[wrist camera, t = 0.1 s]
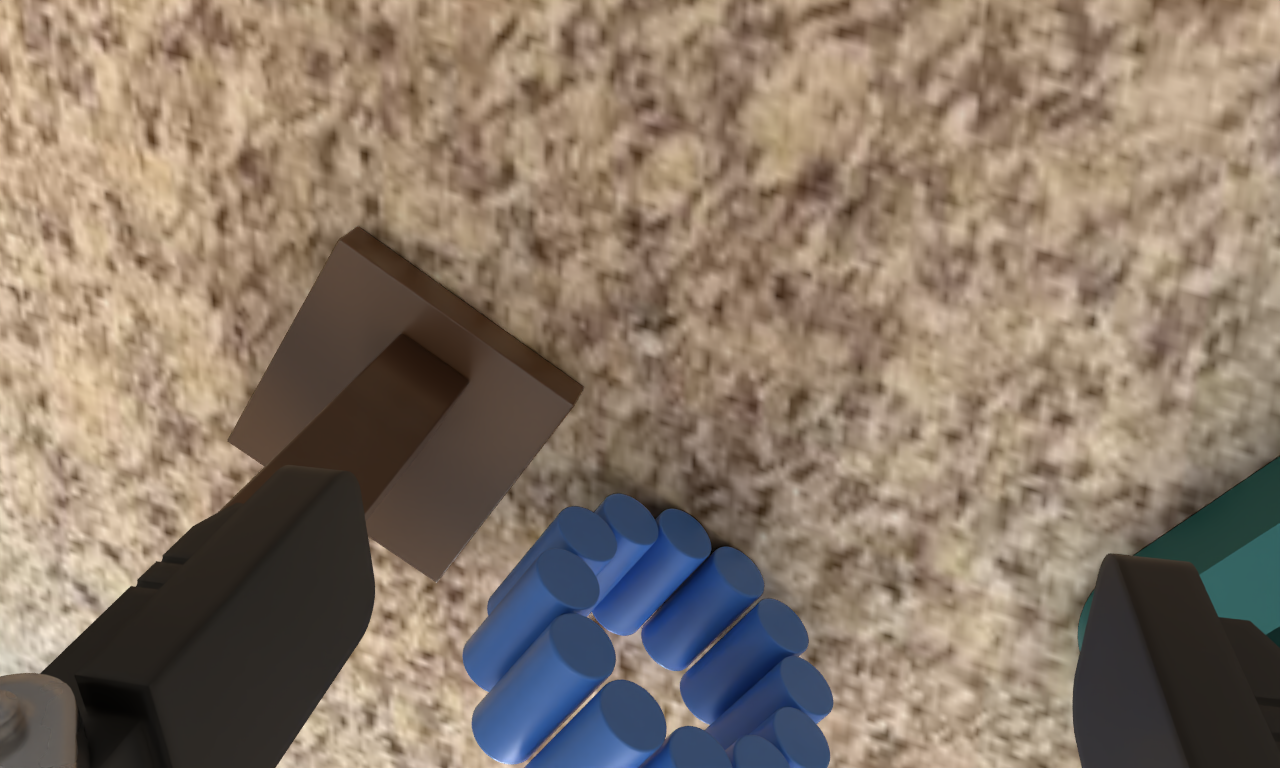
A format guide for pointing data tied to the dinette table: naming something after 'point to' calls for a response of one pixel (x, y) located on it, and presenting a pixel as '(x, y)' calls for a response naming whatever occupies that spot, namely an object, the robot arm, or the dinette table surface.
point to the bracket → (1231, 552)
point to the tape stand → (403, 402)
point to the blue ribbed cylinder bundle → (674, 637)
